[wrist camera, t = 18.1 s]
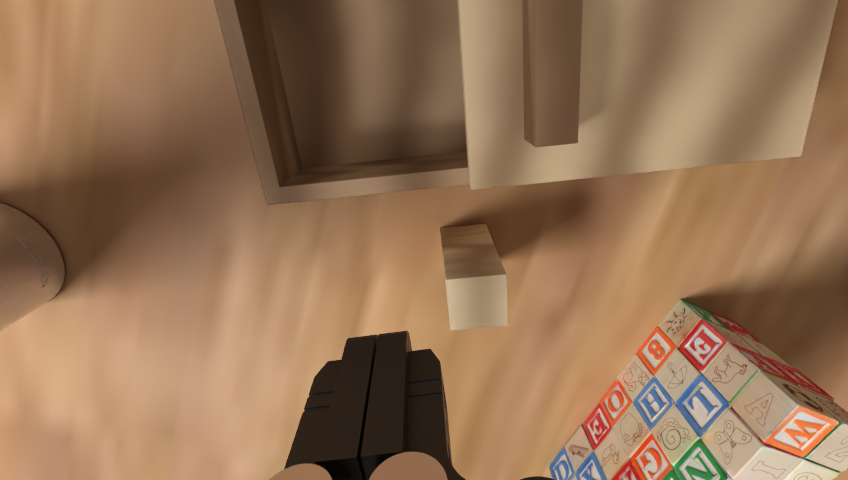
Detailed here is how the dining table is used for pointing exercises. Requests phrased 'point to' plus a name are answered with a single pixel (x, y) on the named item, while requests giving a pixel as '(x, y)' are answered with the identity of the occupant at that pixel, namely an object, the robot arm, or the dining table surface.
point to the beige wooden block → (473, 278)
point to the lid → (635, 84)
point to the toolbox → (349, 94)
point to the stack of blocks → (708, 412)
